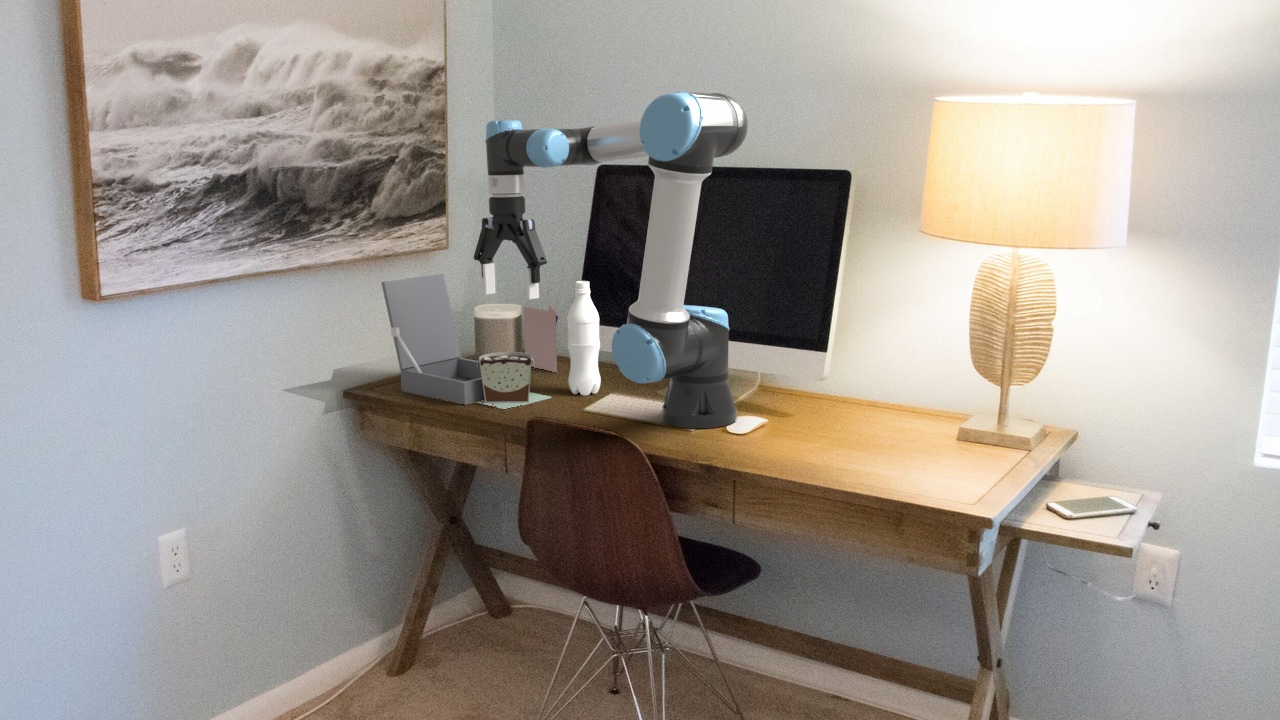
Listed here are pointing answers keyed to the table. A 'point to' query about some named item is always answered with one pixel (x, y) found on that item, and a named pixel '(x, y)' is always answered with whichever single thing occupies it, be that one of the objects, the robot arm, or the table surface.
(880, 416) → the table surface
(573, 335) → the water bottle
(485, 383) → the food container
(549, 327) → the greeting card
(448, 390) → the case
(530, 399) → the mat
